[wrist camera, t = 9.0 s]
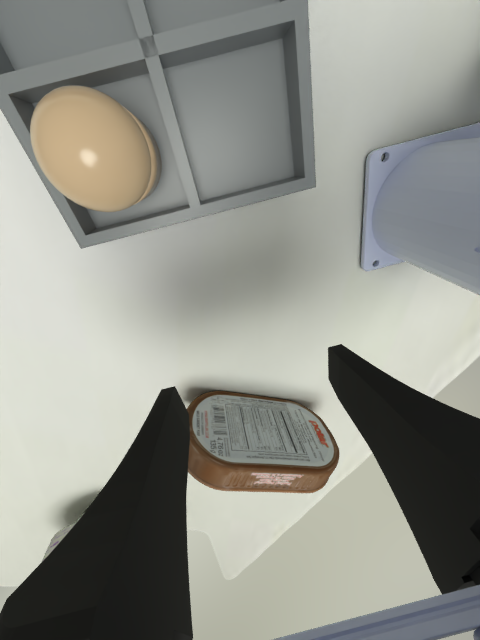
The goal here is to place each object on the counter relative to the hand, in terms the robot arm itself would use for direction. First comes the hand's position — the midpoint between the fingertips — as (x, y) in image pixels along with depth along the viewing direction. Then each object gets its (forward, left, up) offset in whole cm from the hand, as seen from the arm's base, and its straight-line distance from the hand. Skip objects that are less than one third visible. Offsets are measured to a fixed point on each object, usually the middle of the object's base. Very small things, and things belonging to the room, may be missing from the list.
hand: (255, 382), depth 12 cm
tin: (+1, +13, -10) cm, 16 cm away
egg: (+4, -10, -9) cm, 14 cm away
